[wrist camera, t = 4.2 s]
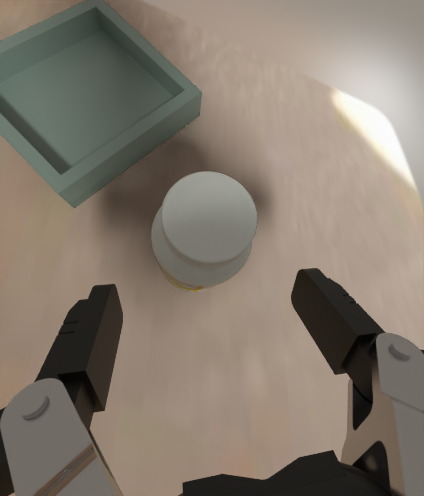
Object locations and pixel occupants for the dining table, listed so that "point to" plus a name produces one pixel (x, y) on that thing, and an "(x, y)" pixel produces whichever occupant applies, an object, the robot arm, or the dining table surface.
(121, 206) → the dining table surface
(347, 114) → the dining table surface
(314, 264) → the dining table surface
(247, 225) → the supplement bottle
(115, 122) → the tray
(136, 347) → the dining table surface
